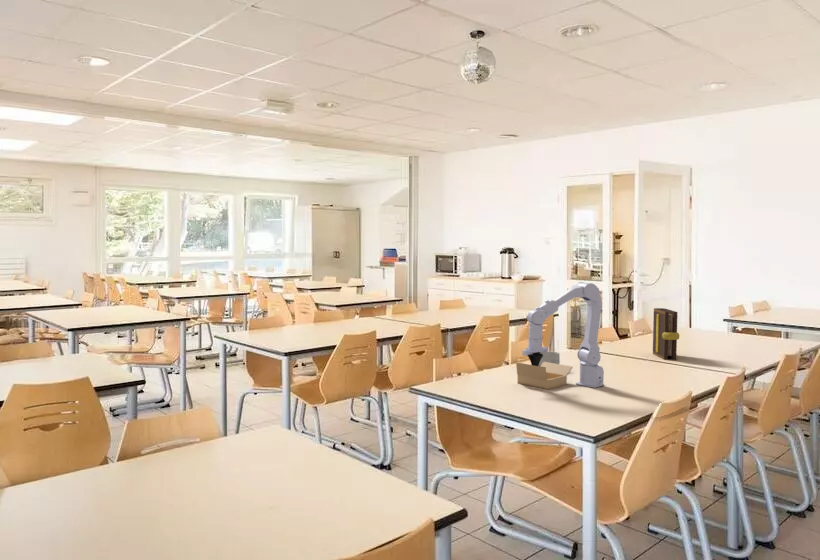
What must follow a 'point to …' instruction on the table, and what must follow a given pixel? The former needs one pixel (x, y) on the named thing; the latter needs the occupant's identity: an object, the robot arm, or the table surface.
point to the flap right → (557, 368)
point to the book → (665, 333)
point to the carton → (544, 381)
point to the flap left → (531, 371)
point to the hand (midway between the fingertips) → (534, 370)
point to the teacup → (550, 357)
